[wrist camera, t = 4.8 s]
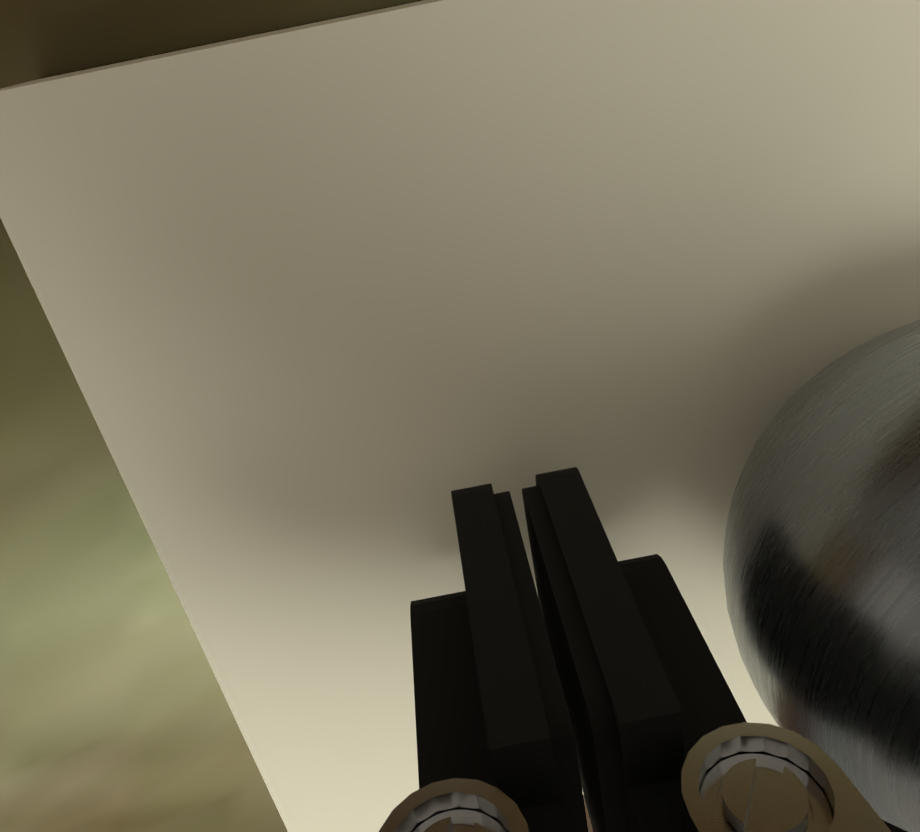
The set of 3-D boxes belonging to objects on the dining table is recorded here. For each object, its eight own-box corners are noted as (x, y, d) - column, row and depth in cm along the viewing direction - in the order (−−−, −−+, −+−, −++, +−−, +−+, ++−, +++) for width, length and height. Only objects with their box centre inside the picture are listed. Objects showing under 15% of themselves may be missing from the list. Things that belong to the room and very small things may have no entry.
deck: (38, 79, 10) (-55, 101, 8) (1686, -258, 10) (2048, -328, 8) (308, 739, 16) (298, 853, 14) (1327, 526, 16) (1475, 607, 14)
